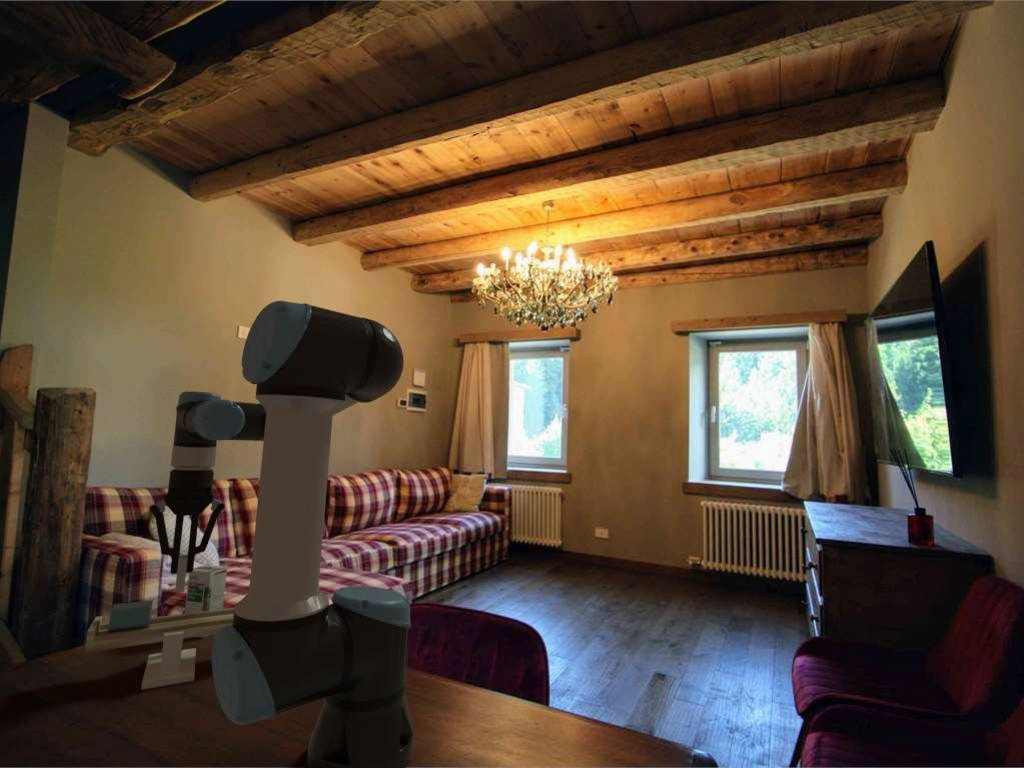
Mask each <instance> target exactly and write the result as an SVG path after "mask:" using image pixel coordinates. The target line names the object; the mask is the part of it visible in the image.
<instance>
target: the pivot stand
mask: <svg viewBox="0 0 1024 768" xmlns="http://www.w3.org/2000/svg"><path fill="white" fill-rule="evenodd" d="M183 632H184V631H182V632H174V633H167V634H164V641H162V642H163V643H162V650H161V651H162V652H160V653H159V652H158V653H153V654H149V655H148V659H147V663H146V666H145V670H144V672H143V673H144V674H143V677H142V681H141V691H142V690H147V689H153V688H159V687H165V686H171V685H178V684H183V683H187V682H194V681H195V671H196V670H195V669H196V654H197V648H196V647H195V648H188V649H187V648H186V649H183V642H184V639H183Z"/></svg>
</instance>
